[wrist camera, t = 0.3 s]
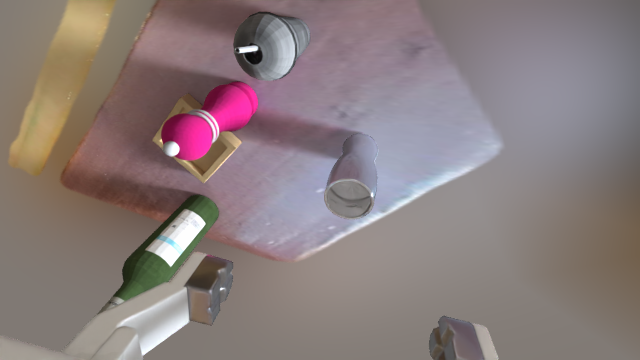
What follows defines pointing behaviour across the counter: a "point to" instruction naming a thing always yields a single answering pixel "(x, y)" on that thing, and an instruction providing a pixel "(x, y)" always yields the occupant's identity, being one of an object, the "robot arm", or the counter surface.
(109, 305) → the wine bottle
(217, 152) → the tray
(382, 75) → the counter surface
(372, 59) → the counter surface
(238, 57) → the beverage cup
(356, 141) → the beer glass
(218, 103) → the pepper mill
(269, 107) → the counter surface
